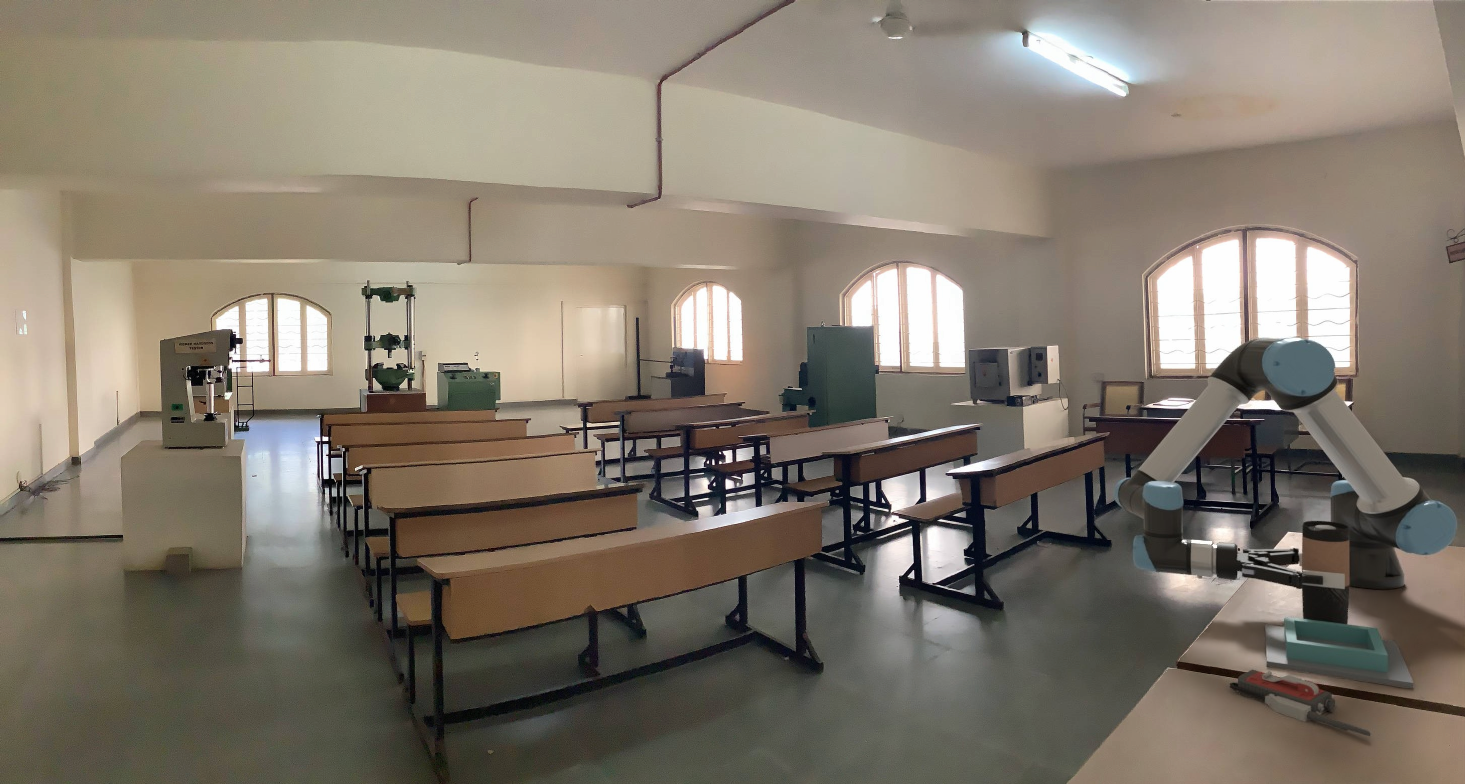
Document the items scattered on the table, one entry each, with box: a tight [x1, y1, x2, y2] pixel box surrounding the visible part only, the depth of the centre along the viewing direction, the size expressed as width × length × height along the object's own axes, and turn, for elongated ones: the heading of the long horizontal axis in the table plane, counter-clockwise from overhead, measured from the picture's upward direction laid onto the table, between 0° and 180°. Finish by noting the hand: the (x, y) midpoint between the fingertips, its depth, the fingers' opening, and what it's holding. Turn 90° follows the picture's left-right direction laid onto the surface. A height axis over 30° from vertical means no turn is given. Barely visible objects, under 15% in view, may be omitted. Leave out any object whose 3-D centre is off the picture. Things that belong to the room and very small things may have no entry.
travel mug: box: [1301, 520, 1350, 625], centre depth 160 cm, size 8×8×20 cm
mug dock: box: [1264, 616, 1415, 690], centre depth 146 cm, size 20×20×4 cm
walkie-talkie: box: [1229, 669, 1372, 737], centre depth 127 cm, size 9×4×20 cm
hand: (1341, 571), depth 159 cm, fingers open, 13 cm apart
